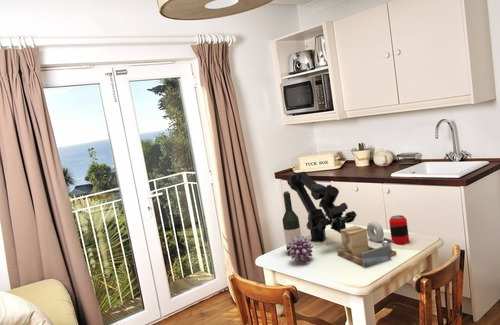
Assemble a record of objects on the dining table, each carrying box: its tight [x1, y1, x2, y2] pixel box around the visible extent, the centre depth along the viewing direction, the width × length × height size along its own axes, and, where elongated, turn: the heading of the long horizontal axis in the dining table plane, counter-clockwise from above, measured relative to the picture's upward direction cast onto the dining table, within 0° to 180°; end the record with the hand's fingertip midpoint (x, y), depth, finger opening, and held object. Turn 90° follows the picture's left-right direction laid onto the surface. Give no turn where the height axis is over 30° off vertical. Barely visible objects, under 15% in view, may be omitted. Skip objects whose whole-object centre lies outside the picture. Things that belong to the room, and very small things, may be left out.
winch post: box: [381, 237, 397, 258], centre depth 179 cm, size 6×5×8 cm
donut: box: [366, 221, 385, 243], centre depth 200 cm, size 10×4×10 cm, turn 24°
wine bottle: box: [281, 191, 302, 257], centre depth 202 cm, size 8×8×30 cm
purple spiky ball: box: [286, 235, 314, 263], centre depth 189 cm, size 12×12×12 cm
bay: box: [336, 245, 392, 269], centre depth 182 cm, size 20×13×7 cm, turn 21°
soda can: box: [388, 214, 410, 246], centre depth 194 cm, size 8×8×12 cm
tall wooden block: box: [340, 225, 370, 257], centre depth 186 cm, size 8×8×11 cm
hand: (346, 235), depth 192 cm, fingers closed
